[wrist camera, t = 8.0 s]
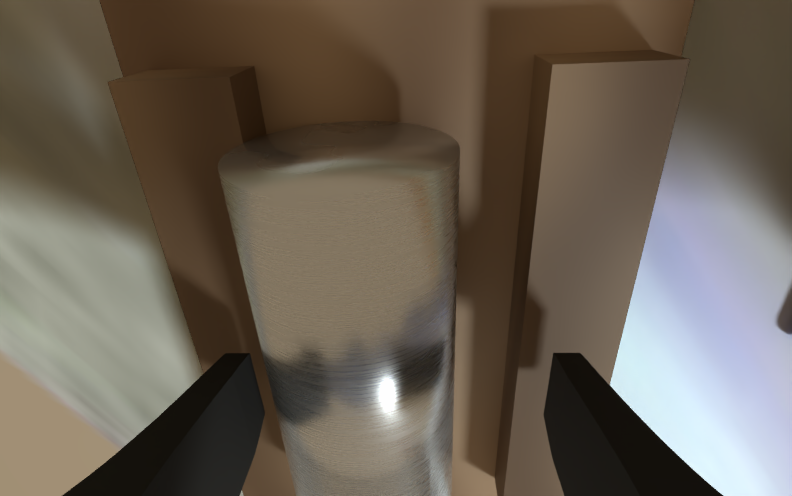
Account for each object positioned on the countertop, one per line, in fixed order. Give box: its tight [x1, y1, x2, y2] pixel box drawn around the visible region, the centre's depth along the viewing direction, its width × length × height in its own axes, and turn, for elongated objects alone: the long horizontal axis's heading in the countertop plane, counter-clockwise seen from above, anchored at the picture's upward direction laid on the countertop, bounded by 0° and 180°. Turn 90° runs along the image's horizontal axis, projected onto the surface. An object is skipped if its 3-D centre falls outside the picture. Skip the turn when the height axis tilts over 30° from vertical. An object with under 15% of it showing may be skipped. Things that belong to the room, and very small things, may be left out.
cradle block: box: [100, 0, 695, 496], centre depth 13 cm, size 12×18×3 cm, turn 2°
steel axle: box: [218, 121, 460, 496], centre depth 11 cm, size 4×10×4 cm
